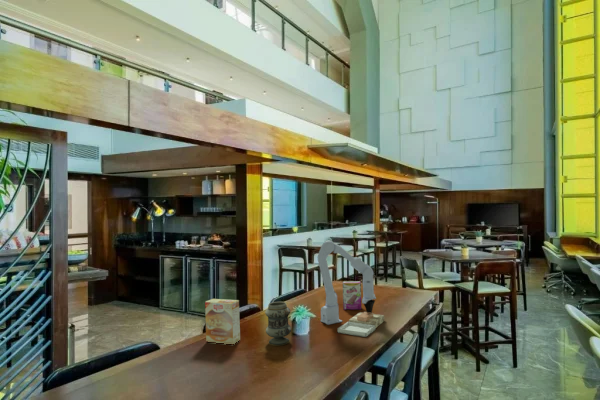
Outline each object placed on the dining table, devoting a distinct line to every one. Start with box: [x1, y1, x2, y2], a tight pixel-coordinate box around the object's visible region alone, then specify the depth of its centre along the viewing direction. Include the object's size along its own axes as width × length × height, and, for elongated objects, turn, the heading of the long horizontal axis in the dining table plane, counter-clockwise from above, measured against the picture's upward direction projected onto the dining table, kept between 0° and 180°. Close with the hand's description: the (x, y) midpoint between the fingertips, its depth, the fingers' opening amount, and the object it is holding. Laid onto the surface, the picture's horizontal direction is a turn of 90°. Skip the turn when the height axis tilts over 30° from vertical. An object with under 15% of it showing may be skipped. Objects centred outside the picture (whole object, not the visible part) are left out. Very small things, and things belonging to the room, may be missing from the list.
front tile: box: [357, 314, 370, 322], centre depth 192 cm, size 5×5×2 cm
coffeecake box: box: [204, 298, 241, 345], centre depth 177 cm, size 15×7×20 cm, turn 70°
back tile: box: [361, 311, 374, 319], centre depth 197 cm, size 5×5×2 cm
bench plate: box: [348, 311, 385, 329], centre depth 196 cm, size 15×14×3 cm
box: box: [337, 321, 376, 338], centre depth 184 cm, size 13×15×2 cm
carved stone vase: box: [264, 301, 292, 347], centre depth 173 cm, size 12×12×18 cm
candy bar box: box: [342, 280, 362, 311], centre depth 226 cm, size 11×5×16 cm, turn 84°
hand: (369, 313), depth 200 cm, fingers closed
